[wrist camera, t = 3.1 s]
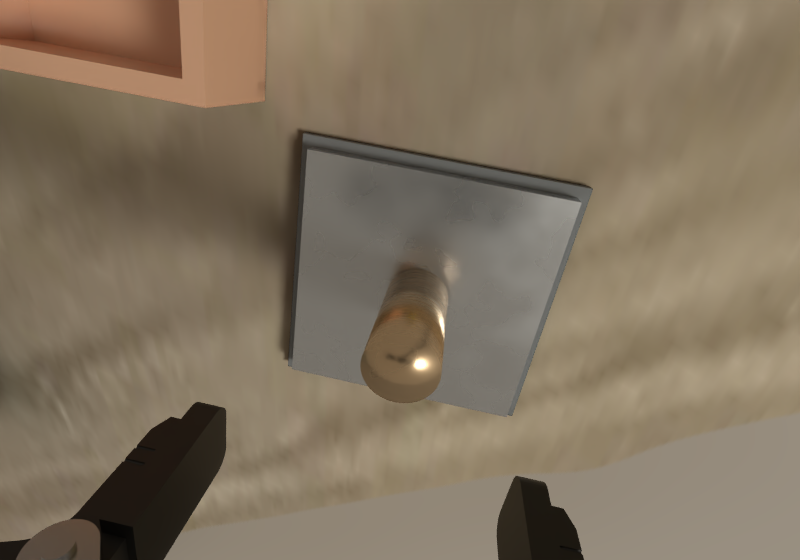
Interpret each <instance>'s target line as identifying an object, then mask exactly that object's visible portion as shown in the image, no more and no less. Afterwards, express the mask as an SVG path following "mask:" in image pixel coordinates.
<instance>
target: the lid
mask: <svg viewBox="0 0 800 560" xmlns="http://www.w3.org/2000/svg"><path fill="white" fill-rule="evenodd" d="M581 203H582V202H581V201H580V200H579V199H578V198H575V197H570V196H565V195H560V194H554V193H549V192H544V191H539V190H534V189H529V188H524V187H518V186H513V185H508V184H503V183H498V182H493V181H487V180H482V179H477V178H472V177H467V176H462V175H456V174H451V173H446V172H441V171H436V170H431V169H426V168H420V167H415V166H410V165H405V164H400V163H395V162H389V161H384V160H379V159H374V158H369V157H364V156H358V155H353V154H348V153H343V152H338V151H333V150H328V149H322V148H317V147H311V148H309V149H307V160H306V175H305V189H304V204H303V218H302V232H301V247H300V261H299V276H298V290H297V304H296V319H295V333H294V348H293V362H292V369H294V370H298V371H303V372H307V373H312V374H316V375H321V376H325V377H330V378H334V379H339V380H343V381H347V382H352V383H356V384H361V385H365V386H368V387H369V388H370V389H371V390H372V391H373V392H374V393H376V394H377V395H379V396H380V397H382V398H384V399H387V400H389V401H393V402H398V403H412V402H417V401H420V400H422V399H428V400H432V401H437V402H441V403H446V404H450V405H455V406H459V407H464V408H468V409H473V410H477V411H481V412H486V413H490V414H495V415H499V416H504V417H507V414H508V412H509V409H510V406H511V403H512V400H513V397H514V394H515V392H516V389H517V386H518V383H519V380H520V377H521V374H522V372H523V369H524V366H525V363H526V360H527V357H528V354H529V352H530V349H531V346H532V343H533V340H534V337H535V335H536V332H537V329H538V326H539V323H540V320H541V317H542V315H543V312H544V309H545V306H546V303H547V300H548V297H549V295H550V292H551V289H552V286H553V283H554V280H555V277H556V275H557V272H558V269H559V266H560V263H561V260H562V258H563V255H564V252H565V249H566V246H567V243H568V240H569V238H570V235H571V232H572V229H573V226H574V223H575V220H576V218H577V215H578V212H579V209H580V206H581Z"/></svg>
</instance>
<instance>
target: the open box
mask: <svg viewBox="0 0 800 560" xmlns="http://www.w3.org/2000/svg"><path fill="white" fill-rule="evenodd" d="M267 1H268V0H0V69H4V70H10V71H15V72H20V73H25V74H30V75H36V76H41V77H46V78H51V79H57V80H62V81H67V82H72V83H77V84H83V85H88V86H93V87H98V88H104V89H109V90H114V91H119V92H124V93H130V94H135V95H140V96H145V97H151V98H156V99H161V100H166V101H171V102H177V103H182V104H187V105H192V106H198V107H203V108H210V107H219V106H227V105H236V104H244V103H253V102H262V101H265V74H266V37H267Z"/></svg>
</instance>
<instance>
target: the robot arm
mask: <svg viewBox="0 0 800 560" xmlns="http://www.w3.org/2000/svg"><path fill="white" fill-rule="evenodd" d="M225 451H226V410H225V408H223V407H218V406H214V405H210V404H205V403H201V402H196V403H195V404H193V405H192V407H191V408H190V409H189V410H188V411H187V413H186V414H185V415H184V416H183V417H182V419H178V418H174V417H170V418H168V419H167V420H165V421H164V422H162V423H160V424H159V425H157V426H156V427H154V428H152V429H151V430H150V431H149V432H148V433H147V435H146V436H145V437H144V438H143V439H142V440H141V441H140V443H139V444H138V445H137V448H134V449H133V450H132V452H131V453H130V454H129V455H128V456H127V457H126V459H125V461H124V462H122V463H121V464H120V465H119V466H118V467H117V468H116V470H115V471H114V472H113V473H112V474H111V475H110V476H109V478H108V479H107V480H106V481H105V482H104V483H103V484H102V485H101V487H100V488H99V489H98V490H97V491H96V492H95V493H94V494H93V496H92V497H91V498H90V499H89V500H88V501H87V502H86V503H85V505H84V506H83V507H82V508H81V509H80V510H79V511H78V512H77V513H76V514H75V515H74V516H73V517H72V518H71V519H70V520H65V521H61V522H59V523H56V524H53V525H51V526H49V527H47V528H45V529H44V530H42V531H40V532H39V533H38V534H36V535H35V536H34V537H32V538H31V539H27V540H20V541H8V542H0V560H164V558H165V556H166V555H167V553H168V552H169V550H170V548H171V547H172V545H173V544H174V542H175V540H176V539H177V537H178V535H179V534H180V532H181V531H182V529H183V527H184V526H185V524H186V523H187V521H188V519H189V518H190V516H191V515H192V513H193V511H194V510H195V508H196V506H197V505H198V503H199V502H200V500H201V498H202V497H203V495H204V494H205V492H206V490H207V489H208V487H209V485H210V484H211V482H212V481H213V479H214V477H215V476H216V474H217V473H218V471H219V469H220V467H221V465H222V462H223V459H224V456H225ZM497 545H498V559H499V560H584V558H583V555H582V554H581V551H582V550H581V547H580V542H579V538H578V534H577V530H576V528H575V527H574V525H573V523H572V522H571V520H570V519H569V517H568V515H567V514H566V512H565V510H564V509H562V508H559V507H554V506H551V503H550V498H549V493H548V489H547V486H546V484H545V483H544V482H541V481H537V480H533V479H528V478H524V477H519V476H515V478H514V479H513V482H512V484H511V486H510V489H509V492H508V494H507V497H506V499H505V501H504V504H503V506H502V509H501V511H500V515H499V518H498V525H497Z"/></svg>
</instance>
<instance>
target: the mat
mask: <svg viewBox="0 0 800 560" xmlns="http://www.w3.org/2000/svg"><path fill="white" fill-rule="evenodd" d="M311 147H317V148H322V149H328V150H333V151H338V152H343V153H348V154H353V155H358V156H364V157H369V158H374V159H379V160H384V161H389V162H395V163H400V164H405V165H410V166H415V167H420V168H426V169H431V170H436V171H441V172H446V173H451V174H456V175H462V176H467V177H472V178H477V179H482V180H487V181H493V182H498V183H503V184H508V185H513V186H518V187H524V188H529V189H534V190H539V191H544V192H549V193H554V194H560V195H565V196H570V197H575V198H578V199H579V200H580V201H581V202H582V203H581V206H580V209H579V212H578V215H577V218H576V220H575V223H574V226H573V229H572V232H571V235H570V238H569V240H568V243H567V246H566V249H565V252H564V255H563V258H562V260H561V263H560V266H559V269H558V272H557V275H556V277H555V280H554V283H553V286H552V289H551V292H550V295H549V297H548V300H547V303H546V306H545V309H544V312H543V315H542V317H541V320H540V323H539V326H538V329H537V332H536V335H535V337H534V340H533V343H532V346H531V349H530V352H529V354H528V357H527V360H526V363H525V366H524V369H523V372H522V374H521V377H520V380H519V383H518V386H517V389H516V392H515V394H514V397H513V400H512V403H511V406H510V409H509V412H508V414H507V415H510V416H512V414H513V412H514V409H515V406H516V403H517V400H518V398H519V395H520V392H521V389H522V386H523V383H524V381H525V378H526V375H527V372H528V369H529V367H530V364H531V361H532V358H533V355H534V353H535V350H536V347H537V344H538V341H539V339H540V336H541V333H542V330H543V327H544V325H545V322H546V319H547V316H548V313H549V311H550V308H551V305H552V302H553V299H554V297H555V294H556V291H557V288H558V285H559V283H560V280H561V277H562V274H563V271H564V269H565V266H566V263H567V260H568V257H569V255H570V252H571V249H572V246H573V243H574V241H575V238H576V235H577V232H578V229H579V227H580V224H581V221H582V218H583V215H584V213H585V210H586V207H587V204H588V201H589V199H590V196H591V193H592V190H593V189H592V188H591V187H588V186H583V185H578V184H573V183H567V182H562V181H557V180H552V179H547V178H541V177H536V176H531V175H526V174H521V173H515V172H510V171H505V170H500V169H494V168H489V167H484V166H479V165H474V164H468V163H463V162H458V161H453V160H448V159H442V158H437V157H432V156H427V155H422V154H416V153H411V152H406V151H401V150H396V149H390V148H385V147H380V146H375V145H370V144H364V143H359V142H354V141H349V140H344V139H338V138H333V137H328V136H323V135H318V134H312V133H307V132H305V133H303V143H302V159H301V174H300V190H299V205H298V221H297V236H296V252H295V267H294V283H293V298H292V314H291V329H290V345H289V360H288V366H291V367H292V362H293V348H294V333H295V319H296V304H297V290H298V276H299V261H300V247H301V232H302V218H303V204H304V189H305V175H306V160H307V149H309V148H311Z"/></svg>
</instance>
